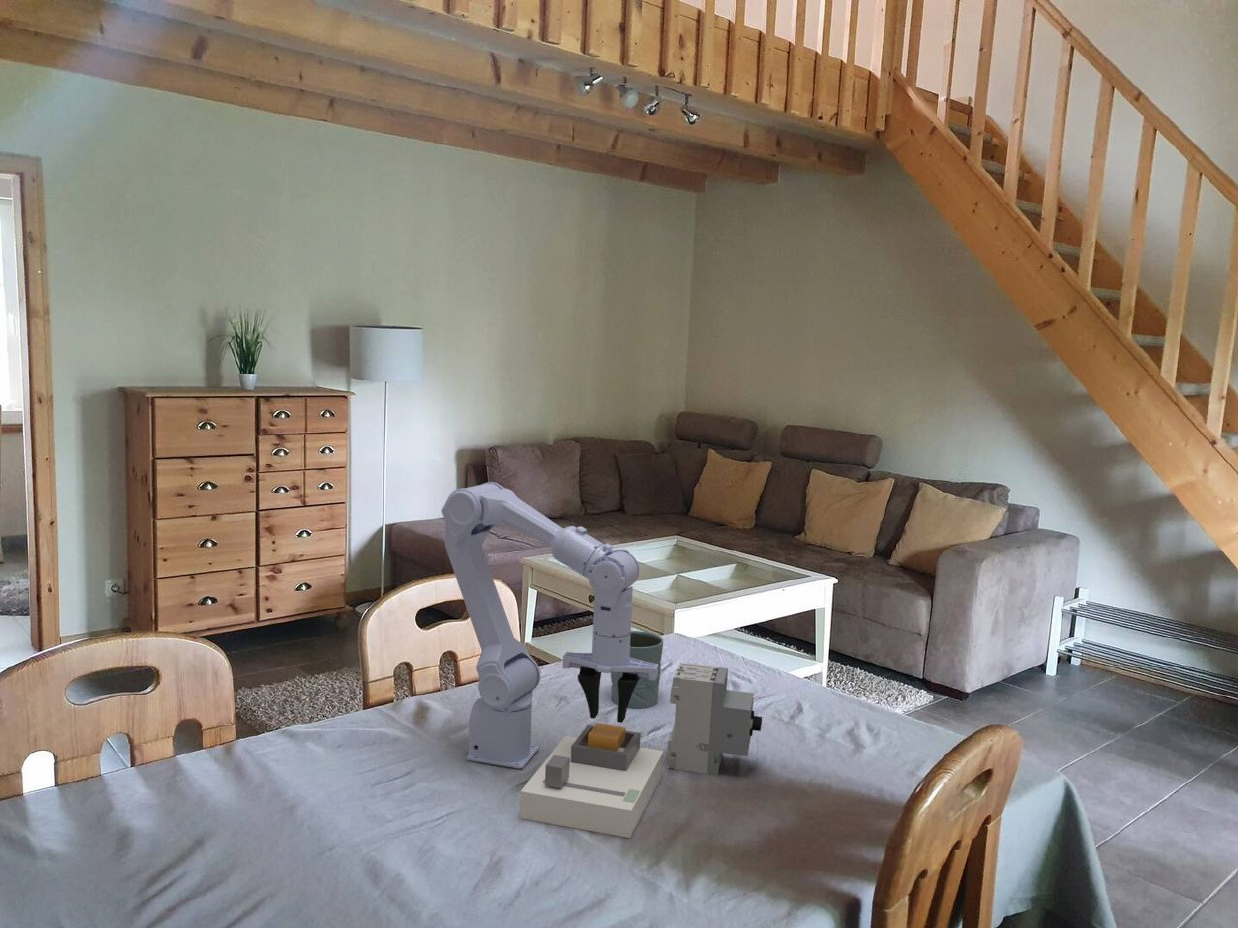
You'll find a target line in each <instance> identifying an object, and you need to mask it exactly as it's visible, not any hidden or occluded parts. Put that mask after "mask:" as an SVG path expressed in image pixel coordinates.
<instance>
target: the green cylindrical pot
mask: <svg viewBox="0 0 1238 928" xmlns="http://www.w3.org/2000/svg"><path fill="white" fill-rule="evenodd" d="M663 647H664V639H663V637H661V636H660V635H658V634H655V633H652V632H649V631H641V630H639V631H638V630H631V636H630V656H629V657H630V658H634V659H637V660H641V661H645V662H649V663H653V664H658V677H657V678H656V680H655V681H654V680H649V679H648V678H644V677H640V679H639V681H638V683H637V685H636V687H635V689H634V691H633V693H632V695H631V698H630V701H629V704H628V707H627V709H634V710H635V709H636V710H638V709H641V710H642V709H647V708H652V707H653V706H655V705H656V704H657V702H658V700H659V699H658V698H659V687H660V679H661V668H662V667H661V666H662V663H661V662H662V655H663ZM622 675H623V674H615V673H610V681H611V699H612V702H613V703H614V704H615V705H617V706H618V704H619V696H618V680H619V679H620V678H621V677H622Z"/></svg>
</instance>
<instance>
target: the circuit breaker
mask: <svg viewBox="0 0 1238 928" xmlns="http://www.w3.org/2000/svg"><path fill="white" fill-rule="evenodd" d="M728 675H729V668H728V667H721V666H715V665H714V666H713V665H707V664H696V663H688V662H686V663H682V662H679V664H678V666H677V668H676V670H675V673H674V676H673V678H672V684H671V688H670V702H669V703H670V704H672V705H675V714H674V715H675V717H674V724H673V727H672V729H671V733H670V734H669V737H668V740H667V755H666V769H669V770H670V769H674V770H676V771H682V772H689V773H690V772H691V773H698V774H705V775H714V776H718V775H719V771H720V768H721V763H722V759H723V758H722V757H723V754H727V755H735V756H744V757H748V755H749V749H750V744H751V738H752V736H753V735H754V734H753V732H754V731H757V732H761V731H762V725H763V716H758V715H755V711H754V698H755V697H754V696H755V695H754V693H753V692H748V691H747V692H746V691H738V690H737V691H736V690H729V689H728Z"/></svg>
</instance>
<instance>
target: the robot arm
mask: <svg viewBox="0 0 1238 928" xmlns="http://www.w3.org/2000/svg"><path fill="white" fill-rule="evenodd" d="M440 511H441V514H442V517H443V520H444V523H445V527H444V528H445V532H444V533H445V534H444V546H445V550H446V553H447V556H448V558H449V561H450V562H449V563H450V564H451V568H452V571H453V573H454V576H455V579H456V582H457V584H458V587H459V590H460V593H461V595H462V599H463V600H464V601H463V602H464V604H465V607H466V610H467V612H468V615H469V618H470V622H471V624H472V627H473V630H474V632H475V636H476V638H477V642H478V645H479V647H480V649H481V651H480V655H479V657H478V661H477V663H476V666H475V669H476V672H477V675H478V692H479V695H480V697H479V698H477V699H476V700H475V701H474V703H473V706H472V708H471V710H470V714H469V715H470V716H469V727H468V728H469V729H468V730H469V731H468V754H467V756H466V760H467V761H473V762H479V763H484V764H485V763H486V764H491V765H494V766H496V765H497V766H502V767H507V768H514V769H523V768H524V767H526V765H527V764H528V763H529V761H530V760H531V759H532V758H533V756H535V755H536V753H537V752H538V751H539V749H540V748H539V746H538V745H532V744H531V741H532V738H531V736H532V710H533V709H532V708H533V699H532V698H533V690H535V689H536V688H537V687H538V685H539V684H540V681H541V671H540V668H539V666H538V665H539V664H538V663H537V662H536V661H535V659H534V658H532V656H531V655H530V653H529V651H528V649H527V646H526V645H525V644H524V643H522V642H521V641H519V640H518V639H516V638H515V637H514V634H513V630H512V628H511V626H510V622H509V619H508V617H507V614H506V610H505V608H504V605H503V603H502V599H501V597H500V595H499V592H498V591H499V590H498V588H497V585H496V583H495V580H494V578H493V574H492V572H491V569H490V566H489V564H488V563H489V562H488V561H487V557H486V554H485V552H484V549H483V546H484V545H483V544H484V543H485V540H486V539H487V537H488V535H489V533H490V531H491V530H492V528H494V527H495V526H496V525H497V526H498V525H509V526H511V527H513V528H514V529H516V530H518V531H521V532H522V533H523V534H526V535H527V536H529V537H531V538H533V539H535V540H537V541H539V542H541V543H542V544H544V545H546V546H548V547H550V550H551V554H552V556H553V559H555V560H557V562H560V563H561V564H563V565H565V566H566V567H568V568H569V569H571V570H572V571H574V572H576V573H577V574H579V575H581V576H582V577H584V578H586V579H587V580H588V583H589V585H590V587H591V588H592V590H593V592H594V598H593V599H594V602H593V619H592V620H593V621H592V623H593V624H592V638H591V639H592V640H591V641H592V642H591V645H592V646H591V653H590V652H572V651H566V653H564V654H563V656H562V668H563V669H570V668H574V669H579V673H578V675H577V682H578V683H579V684H580V686H581V688H582V691H583V694H584V697H585V698H586V702H587V705H588V710H589V718H590V719H596V718H597V717H598V715H599V710H600V687H601V685H600V684H601V677H602V673H604V674H611V673H615V674H623V675H622V677H621V678H620V679H619V680H618V696H619V704H618V705H617V706H618V707H617V716H616V720H617V723H620V724H622V723H623V722H624V721H625V720H626V714H627V709H628V708H627V707H628V704H629V701H630V698H631V695H632V693H633V691H634V689H635V687H636V685H637V683H638V681H639V679H640V677H644V678H648V679H649V680H654V681H655V680H656V678H657V677H658V664H653V663H649V662H645V661H641V660H637V659H634V658H630V657H629V656H630V636H631V631H632V613H633V589H634V587H633V585H634V584H635V583H636V581H637V580H638V578H639V576H640V575H639V574H640V565H639V562H638V560H637V559H636V557H635V556H634V555H633V554H632V553H630V552H629V551H628V550H627V549H623V548H620V549H619V548H618V549H613V546H612V544H610V543H608V542H607V543H605V544H604V543H602V542H601V541H599V540H598V539H596V538H594V537H592V536H591V535H589V534H588V533H587V532H588V530H587V529H586V528H585V527H583V526H578V527H576V526H574V525H570V526H566V527H564V528H563V527H561V526H560V525H559V524H557V523H555V522H553V521H552V520H551V519H549V518H548V517H547V516H545V515H544V514H542V513H541V512H539V511H538V510H537V509H535V508H534V507H532V506H531V505H529V504H528V503H526V502H524V500H521V499H520V498H519V497H518V496H517V495H516V494H515V493H514V491H512V489H511V490H510V489H508V488H504V487H503V486H502V485H501V484H499V483H497V482H494V481H489V482H485V483H482V484H480V485H479V484H478V485H474V486H470V487H466V488H463V487H462V488H458V489H454V490H453V491H451V493H450V494H449V495H448V496H447V499H446V500H445V502H444V504H443V506H442V508H441V510H440Z"/></svg>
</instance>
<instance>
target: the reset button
mask: <svg viewBox="0 0 1238 928" xmlns="http://www.w3.org/2000/svg"><path fill="white" fill-rule="evenodd" d="M593 726H594V727H593V729H592V730H591V731H590V733H589V734H588V747H593V748H600V749H606V750H612V751H618V749H619V748H620V746H621V745H622V743H623V742H624V740H625V731H626V726H620V725H615V724H614V725H613V724H606V723H602V722H601V723H599V722H596V723H595V725H593Z"/></svg>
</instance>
